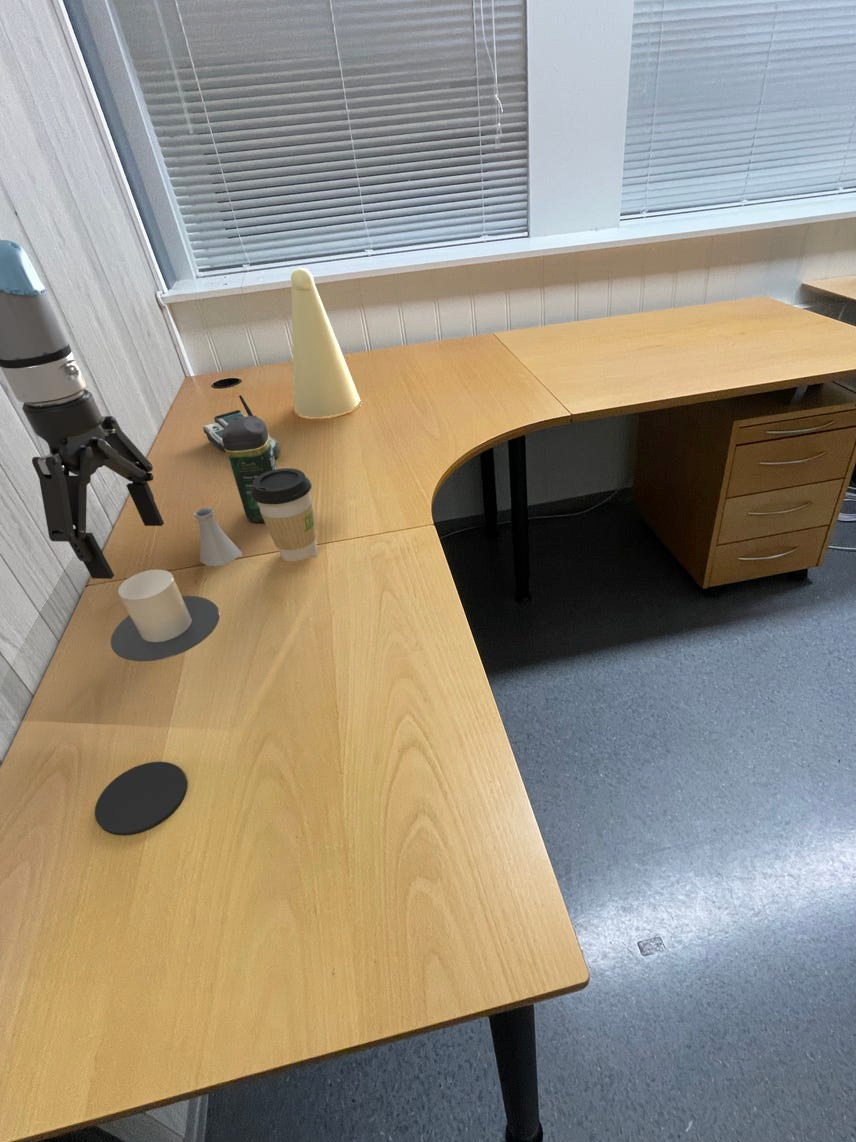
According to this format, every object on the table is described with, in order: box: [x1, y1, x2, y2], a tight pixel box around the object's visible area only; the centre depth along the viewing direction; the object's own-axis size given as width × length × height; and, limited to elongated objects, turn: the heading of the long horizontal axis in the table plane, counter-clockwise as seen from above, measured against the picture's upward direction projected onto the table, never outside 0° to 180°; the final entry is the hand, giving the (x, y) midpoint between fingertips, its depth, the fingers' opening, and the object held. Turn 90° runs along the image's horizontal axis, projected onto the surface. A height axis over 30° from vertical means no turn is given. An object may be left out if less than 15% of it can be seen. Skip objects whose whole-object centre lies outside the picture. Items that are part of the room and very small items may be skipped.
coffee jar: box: [222, 415, 278, 524], centre depth 119 cm, size 10×8×19 cm
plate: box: [110, 595, 221, 662], centre depth 97 cm, size 16×16×1 cm
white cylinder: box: [117, 569, 192, 642], centre depth 94 cm, size 8×8×8 cm
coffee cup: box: [251, 467, 318, 562], centre depth 107 cm, size 10×10×15 cm
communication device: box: [202, 394, 280, 459], centre depth 148 cm, size 12×24×9 cm, turn 39°
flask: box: [193, 507, 244, 567], centre depth 109 cm, size 7×7×10 cm
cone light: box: [290, 267, 361, 417], centre depth 157 cm, size 25×18×35 cm
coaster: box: [94, 761, 188, 836], centre depth 73 cm, size 10×10×1 cm
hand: (130, 549), depth 87 cm, fingers open, 13 cm apart
